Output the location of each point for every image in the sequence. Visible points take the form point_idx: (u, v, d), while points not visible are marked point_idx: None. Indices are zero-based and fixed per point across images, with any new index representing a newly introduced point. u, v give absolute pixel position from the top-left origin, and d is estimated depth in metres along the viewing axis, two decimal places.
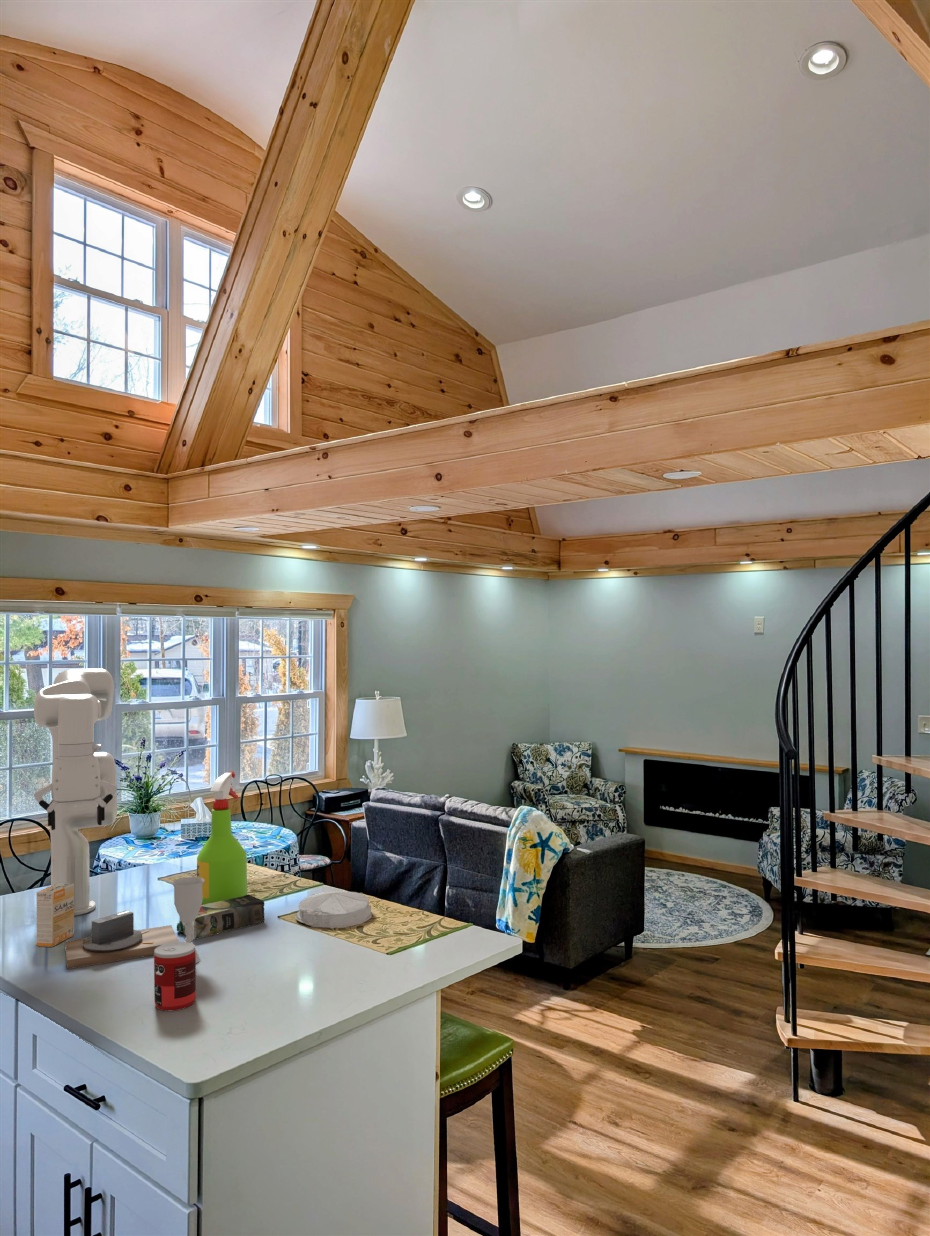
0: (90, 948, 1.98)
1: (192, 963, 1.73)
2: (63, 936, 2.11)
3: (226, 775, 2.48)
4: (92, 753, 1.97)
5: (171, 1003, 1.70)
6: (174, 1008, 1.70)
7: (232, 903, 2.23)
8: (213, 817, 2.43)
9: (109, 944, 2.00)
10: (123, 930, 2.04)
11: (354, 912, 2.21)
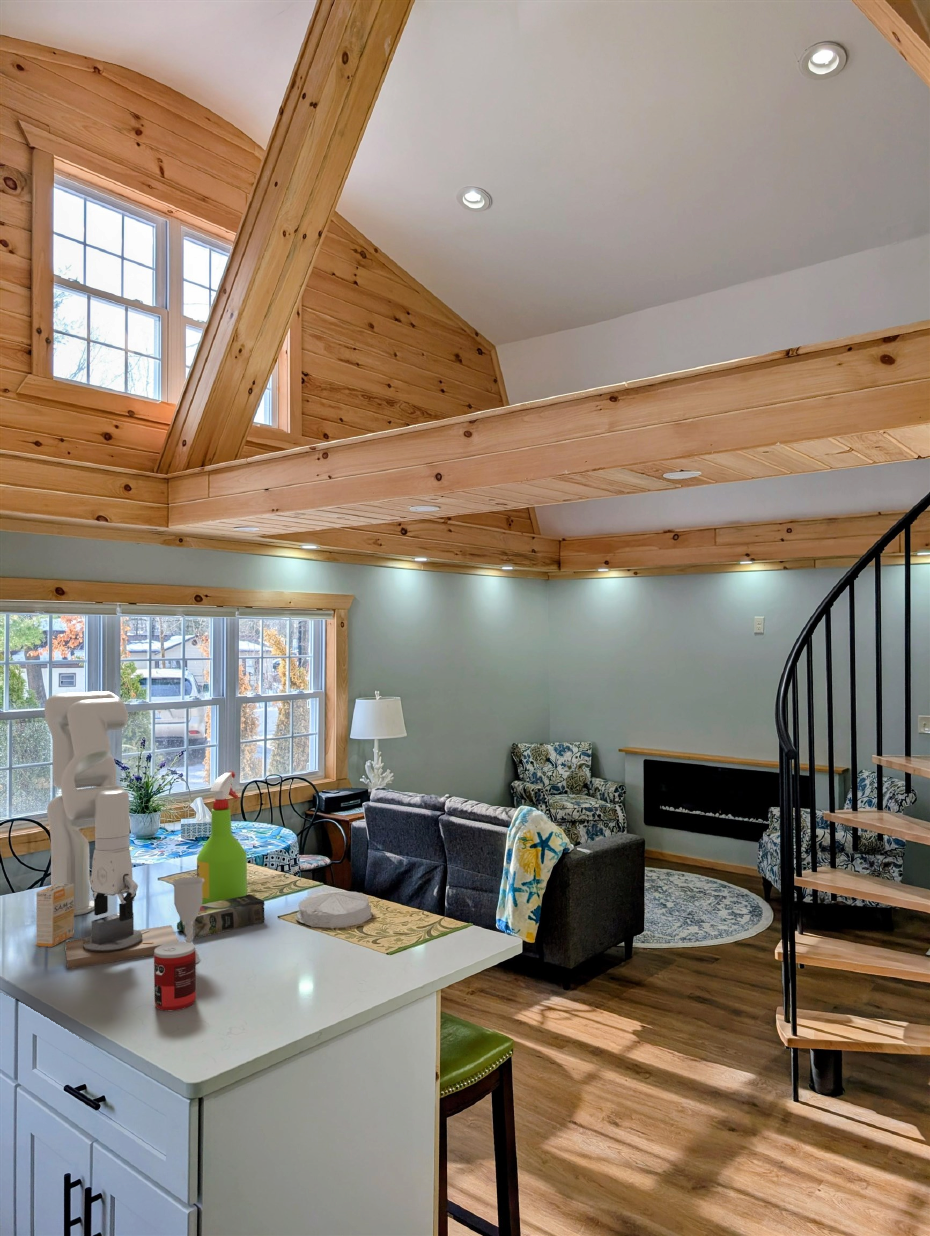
0: (90, 948, 1.98)
1: (192, 963, 1.73)
2: (63, 936, 2.11)
3: (226, 775, 2.48)
4: None
5: (171, 1003, 1.70)
6: (174, 1008, 1.70)
7: (232, 903, 2.23)
8: (213, 817, 2.43)
9: (109, 944, 2.00)
10: (123, 930, 2.04)
11: (354, 912, 2.21)
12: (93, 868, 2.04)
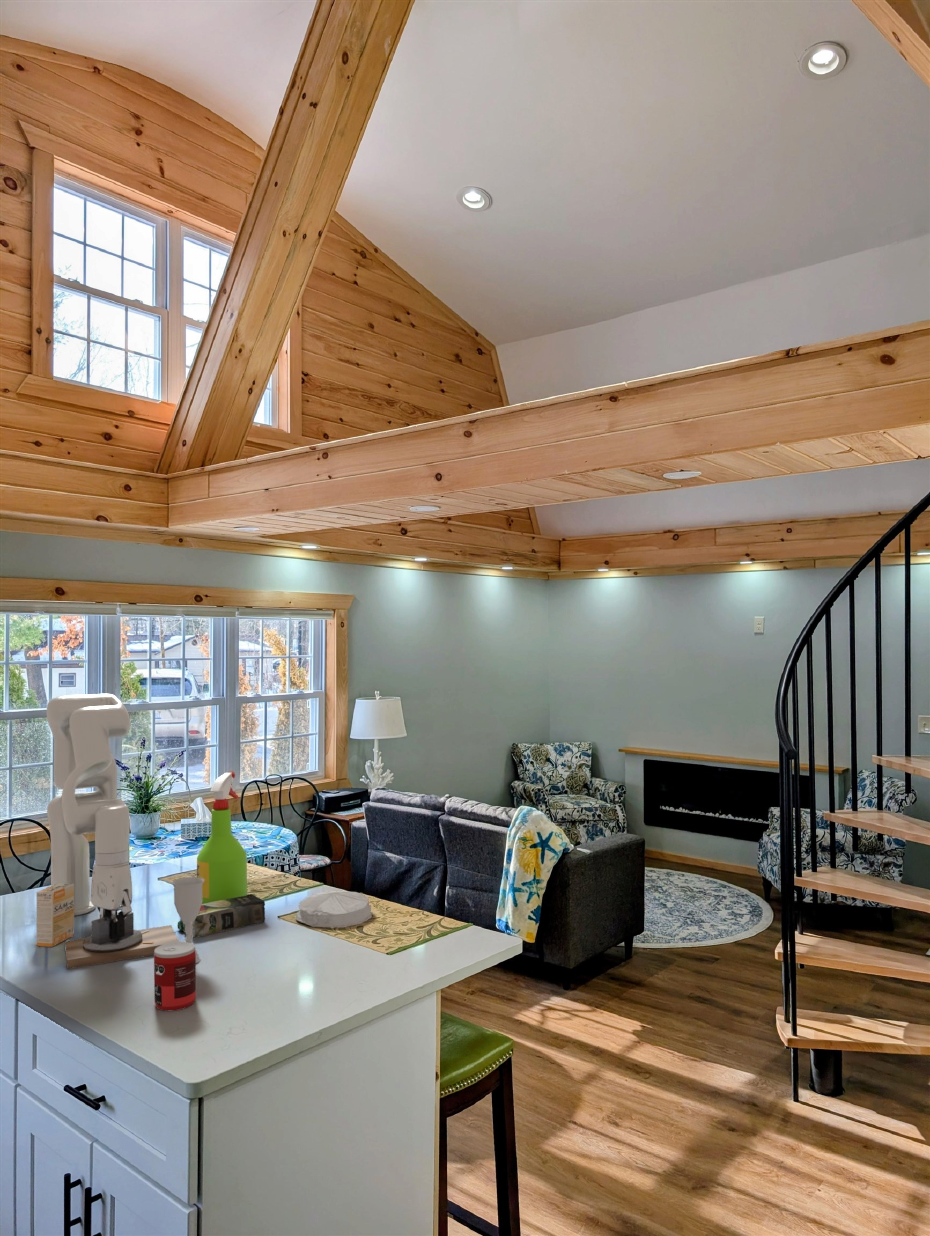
0: (90, 948, 1.98)
1: (192, 963, 1.73)
2: (63, 936, 2.11)
3: (226, 775, 2.48)
4: None
5: (171, 1003, 1.70)
6: (174, 1008, 1.70)
7: (233, 902, 2.24)
8: (213, 817, 2.43)
9: (109, 944, 2.00)
10: None
11: (354, 912, 2.21)
12: (93, 882, 2.04)
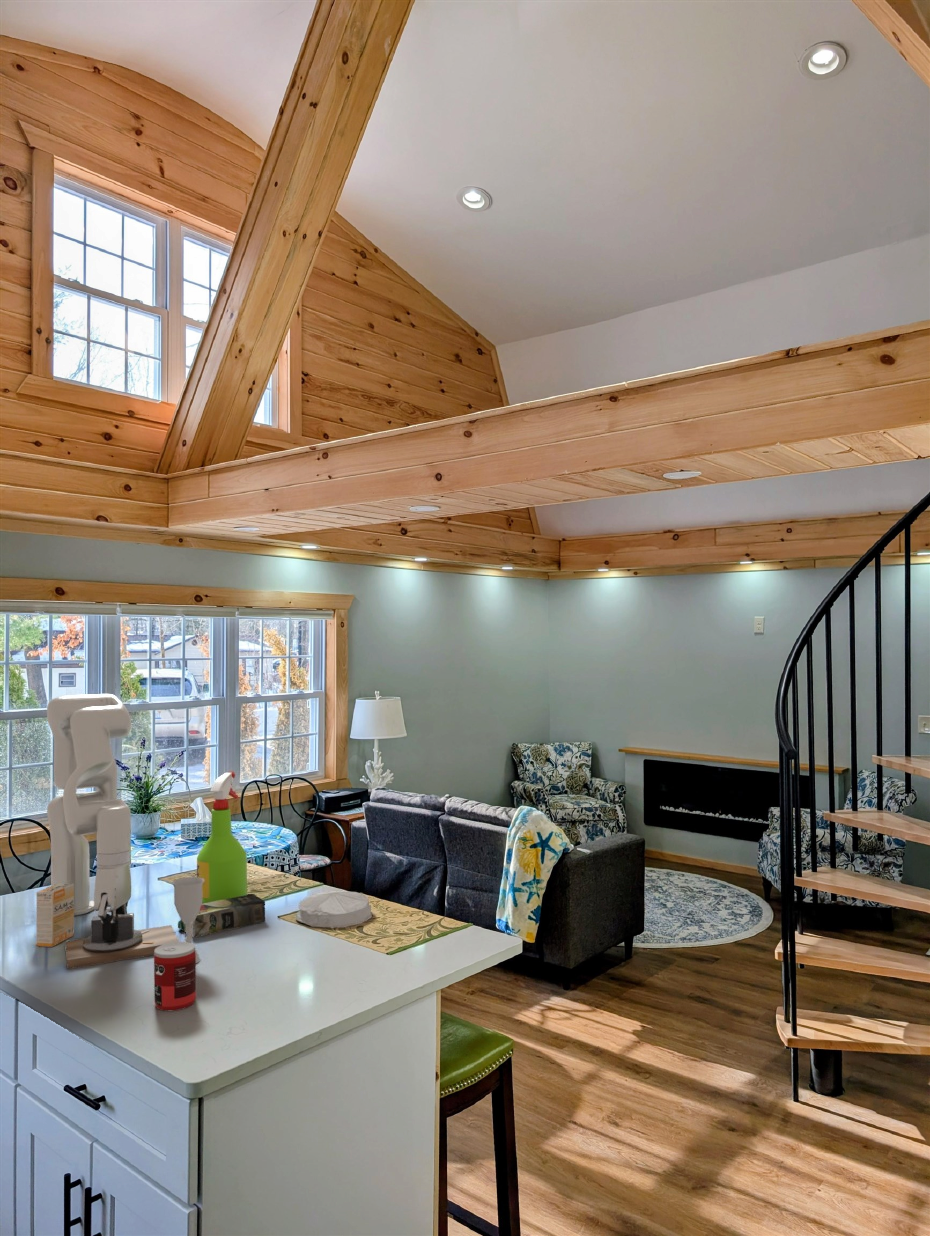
0: None
1: (192, 963, 1.73)
2: (63, 936, 2.11)
3: (226, 775, 2.48)
4: None
5: (171, 1003, 1.70)
6: (174, 1008, 1.70)
7: (233, 902, 2.24)
8: (213, 817, 2.43)
9: (97, 944, 2.00)
10: (119, 933, 2.03)
11: (354, 912, 2.21)
12: None
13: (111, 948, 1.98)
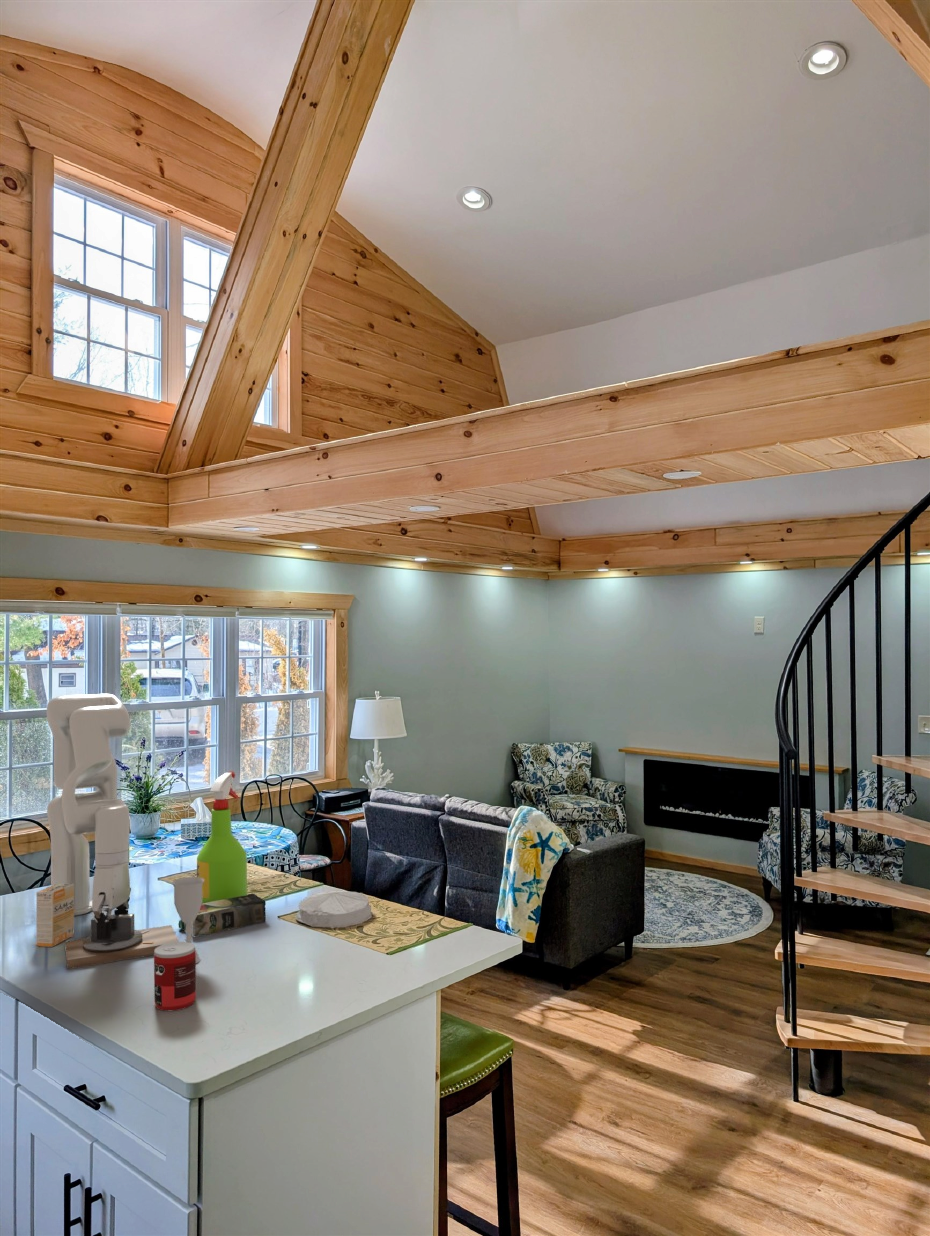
0: (83, 942, 2.02)
1: (192, 963, 1.73)
2: (63, 936, 2.11)
3: (226, 775, 2.48)
4: None
5: (171, 1003, 1.70)
6: (174, 1008, 1.70)
7: (234, 902, 2.24)
8: (213, 817, 2.43)
9: (95, 943, 2.00)
10: (118, 933, 2.03)
11: (354, 912, 2.21)
12: None
13: (107, 948, 1.97)
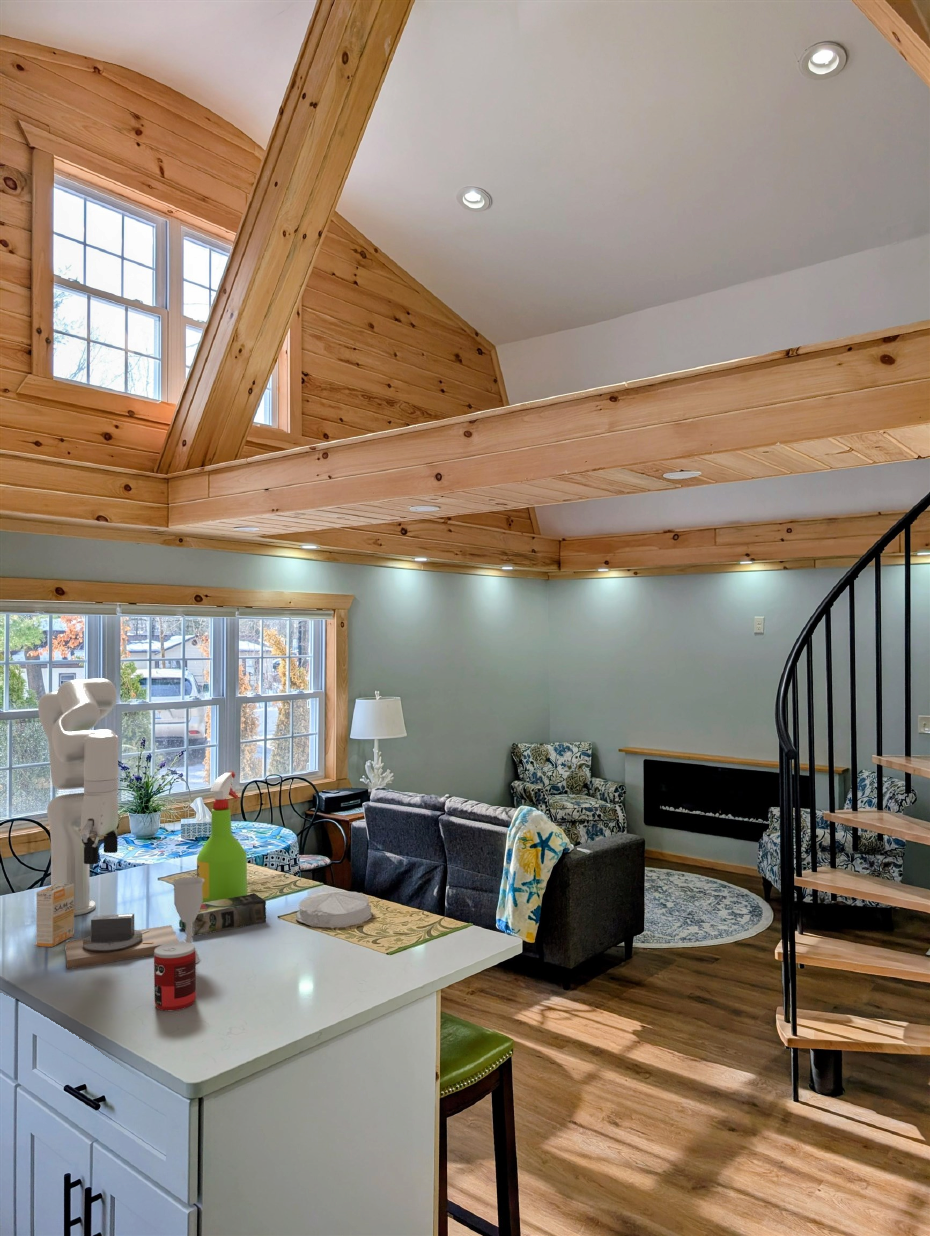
0: (83, 942, 2.02)
1: (192, 963, 1.73)
2: (63, 936, 2.11)
3: (226, 775, 2.48)
4: None
5: (171, 1003, 1.70)
6: (174, 1008, 1.70)
7: (235, 901, 2.25)
8: (213, 817, 2.43)
9: (95, 943, 2.00)
10: (118, 933, 2.03)
11: (354, 912, 2.21)
12: None
13: (107, 948, 1.97)
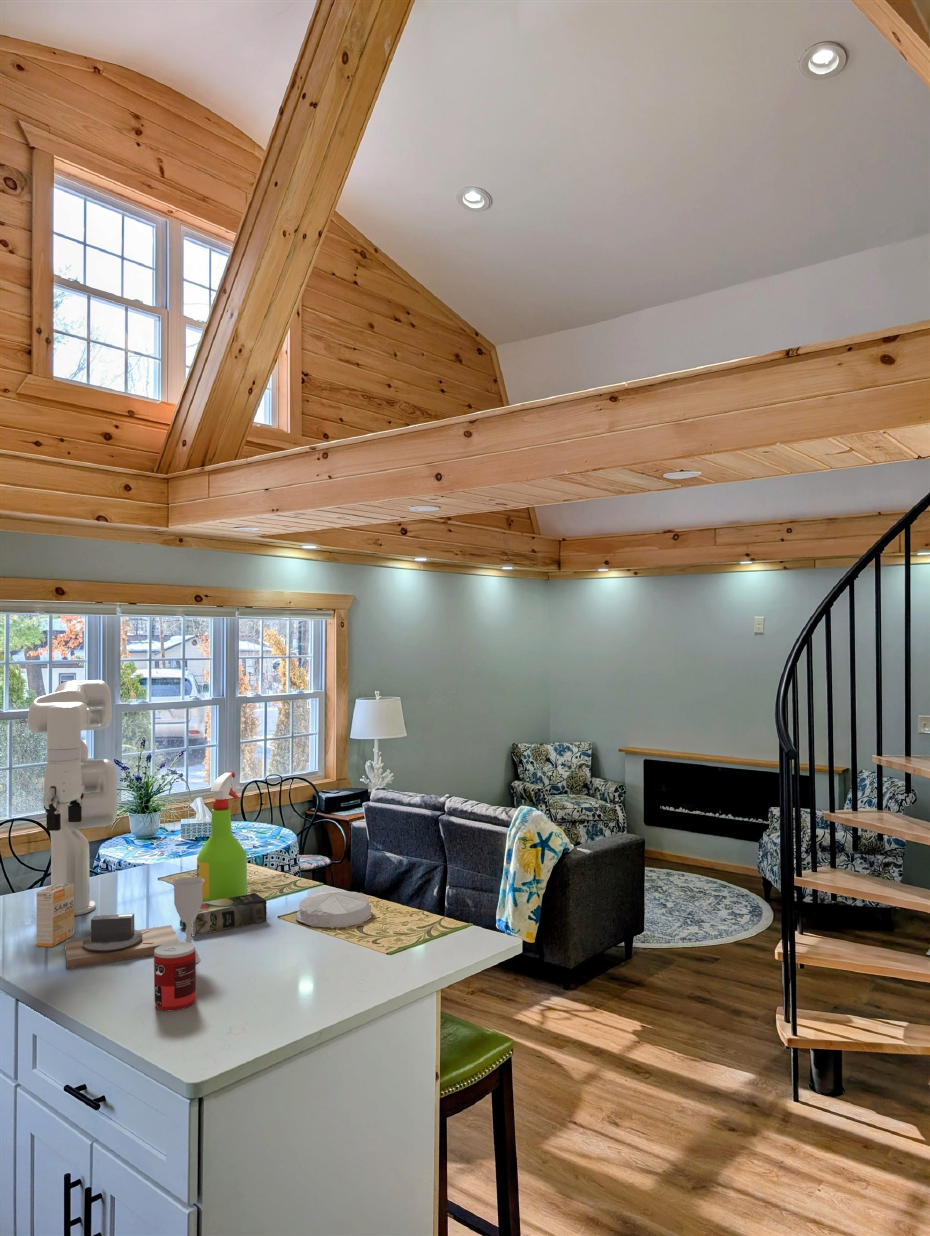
0: (83, 942, 2.02)
1: (192, 963, 1.73)
2: (63, 936, 2.11)
3: (226, 775, 2.48)
4: None
5: (171, 1003, 1.70)
6: (174, 1008, 1.70)
7: (235, 901, 2.25)
8: (213, 817, 2.43)
9: (95, 943, 2.00)
10: (118, 933, 2.03)
11: (354, 912, 2.21)
12: None
13: (107, 948, 1.97)
